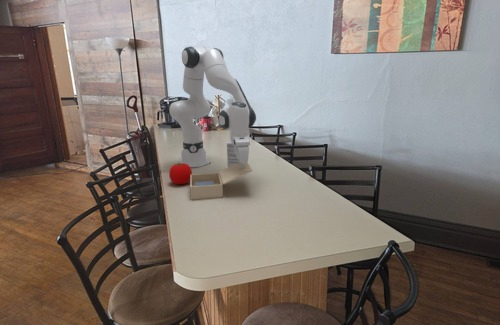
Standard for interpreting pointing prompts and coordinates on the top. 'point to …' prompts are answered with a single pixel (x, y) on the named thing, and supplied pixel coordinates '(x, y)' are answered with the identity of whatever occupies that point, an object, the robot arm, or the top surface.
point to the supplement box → (231, 155)
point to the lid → (234, 172)
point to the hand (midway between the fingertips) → (241, 167)
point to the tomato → (180, 173)
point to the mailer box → (206, 186)
